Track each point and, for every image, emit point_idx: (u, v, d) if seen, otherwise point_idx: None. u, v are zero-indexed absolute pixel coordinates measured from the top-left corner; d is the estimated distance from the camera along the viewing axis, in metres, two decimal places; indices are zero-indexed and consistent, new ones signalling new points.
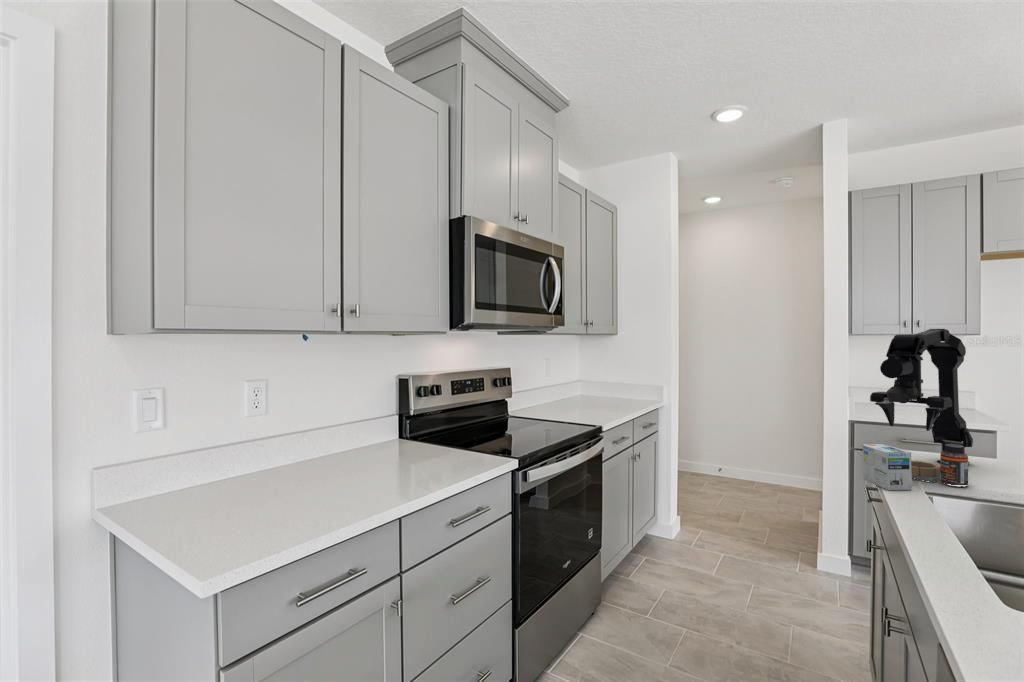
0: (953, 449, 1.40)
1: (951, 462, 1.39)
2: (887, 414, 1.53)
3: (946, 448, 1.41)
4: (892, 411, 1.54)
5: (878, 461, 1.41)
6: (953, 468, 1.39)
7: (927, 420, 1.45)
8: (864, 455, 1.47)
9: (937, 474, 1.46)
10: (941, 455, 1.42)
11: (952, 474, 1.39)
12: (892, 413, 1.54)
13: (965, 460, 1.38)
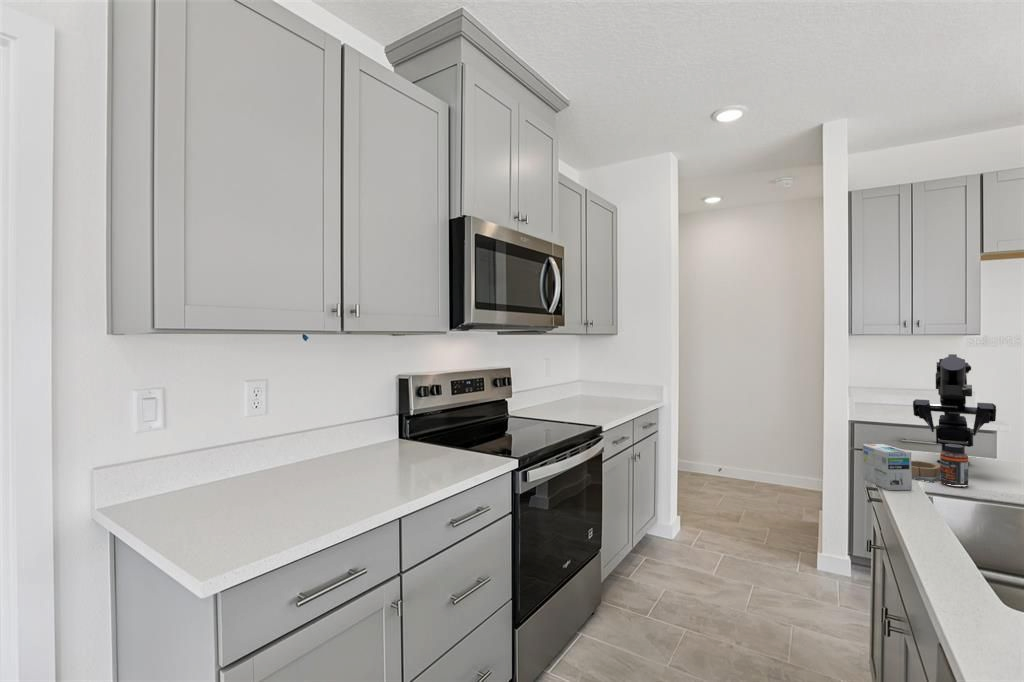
0: (953, 449, 1.40)
1: (951, 462, 1.39)
2: (930, 419, 1.52)
3: (946, 448, 1.41)
4: None
5: (878, 461, 1.41)
6: (953, 468, 1.39)
7: (974, 424, 1.45)
8: (864, 455, 1.47)
9: (937, 474, 1.46)
10: (941, 455, 1.42)
11: (952, 474, 1.39)
12: None
13: (965, 460, 1.38)
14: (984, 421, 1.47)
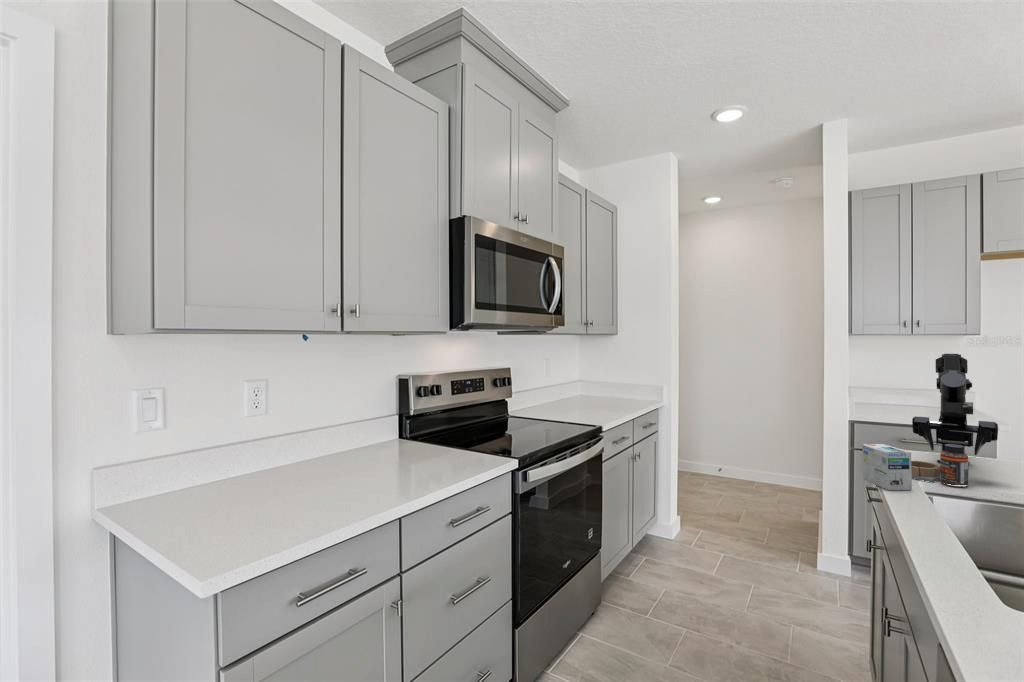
0: (953, 449, 1.40)
1: (951, 462, 1.39)
2: (929, 437, 1.47)
3: (946, 448, 1.41)
4: None
5: (878, 461, 1.41)
6: (953, 468, 1.39)
7: (976, 443, 1.40)
8: (864, 455, 1.47)
9: (937, 474, 1.46)
10: (941, 455, 1.42)
11: (952, 474, 1.39)
12: None
13: (965, 460, 1.38)
14: (986, 440, 1.42)
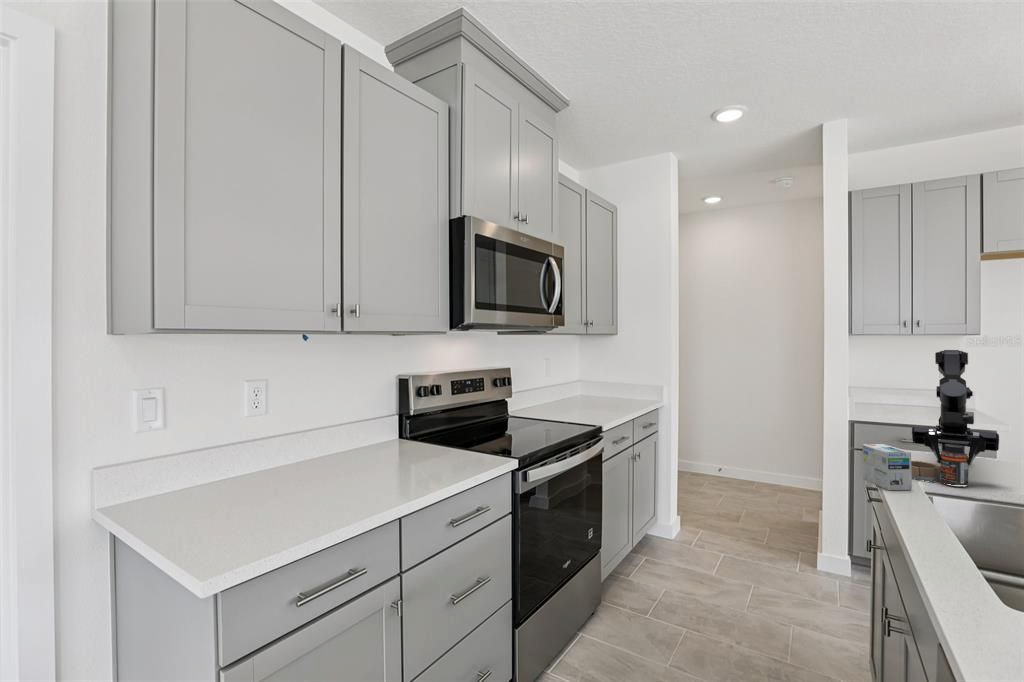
0: (953, 449, 1.40)
1: (951, 462, 1.39)
2: (936, 447, 1.44)
3: (946, 448, 1.41)
4: None
5: (878, 461, 1.41)
6: (953, 468, 1.39)
7: (969, 453, 1.39)
8: (864, 455, 1.47)
9: (937, 474, 1.46)
10: (941, 455, 1.42)
11: (952, 474, 1.39)
12: None
13: (965, 460, 1.38)
14: (979, 450, 1.41)
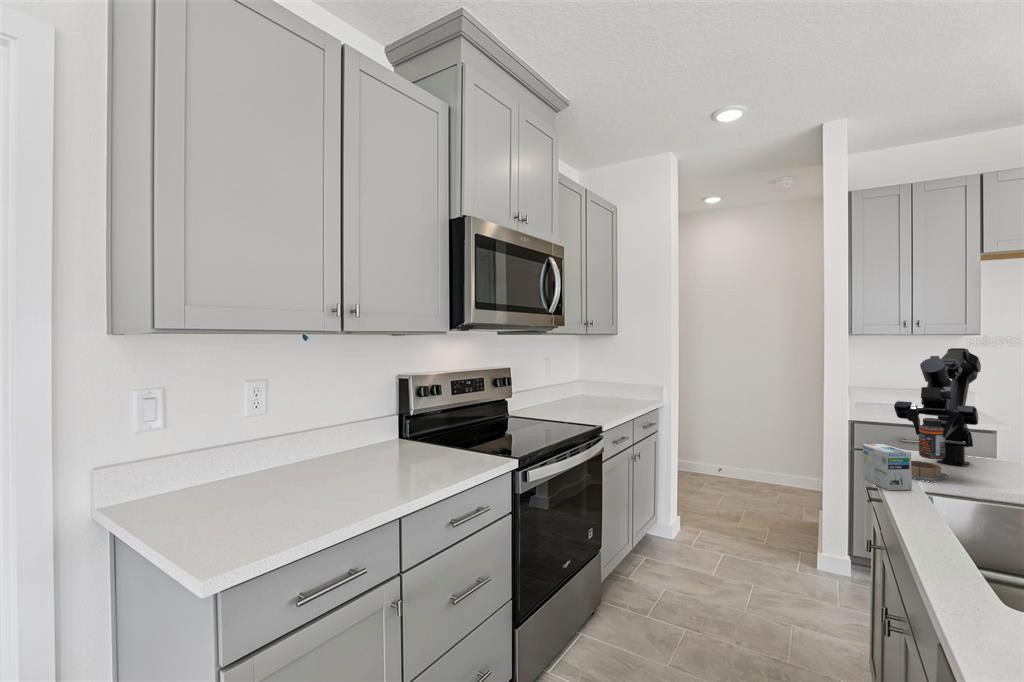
0: (929, 422, 1.45)
1: (927, 435, 1.45)
2: (915, 421, 1.49)
3: (923, 422, 1.47)
4: (919, 423, 1.50)
5: (878, 461, 1.41)
6: (928, 441, 1.45)
7: (946, 426, 1.44)
8: (864, 455, 1.47)
9: (937, 474, 1.46)
10: (919, 428, 1.48)
11: (927, 446, 1.45)
12: (919, 425, 1.50)
13: (940, 433, 1.43)
14: (959, 424, 1.45)
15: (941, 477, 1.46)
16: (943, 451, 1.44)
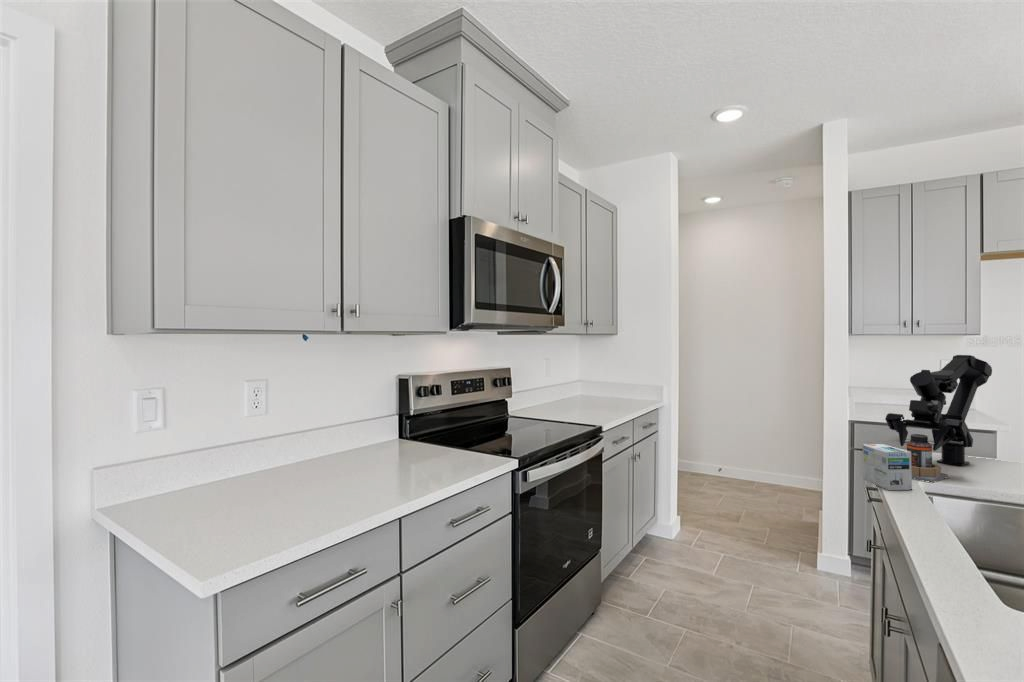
0: (916, 438, 1.49)
1: (913, 451, 1.49)
2: (901, 433, 1.54)
3: (911, 438, 1.51)
4: (905, 435, 1.55)
5: (878, 461, 1.41)
6: (914, 456, 1.49)
7: (936, 439, 1.47)
8: (864, 455, 1.47)
9: (937, 474, 1.46)
10: (907, 444, 1.52)
11: (913, 461, 1.49)
12: (904, 436, 1.54)
13: (926, 449, 1.47)
14: (951, 437, 1.47)
15: (941, 477, 1.46)
16: (929, 467, 1.47)
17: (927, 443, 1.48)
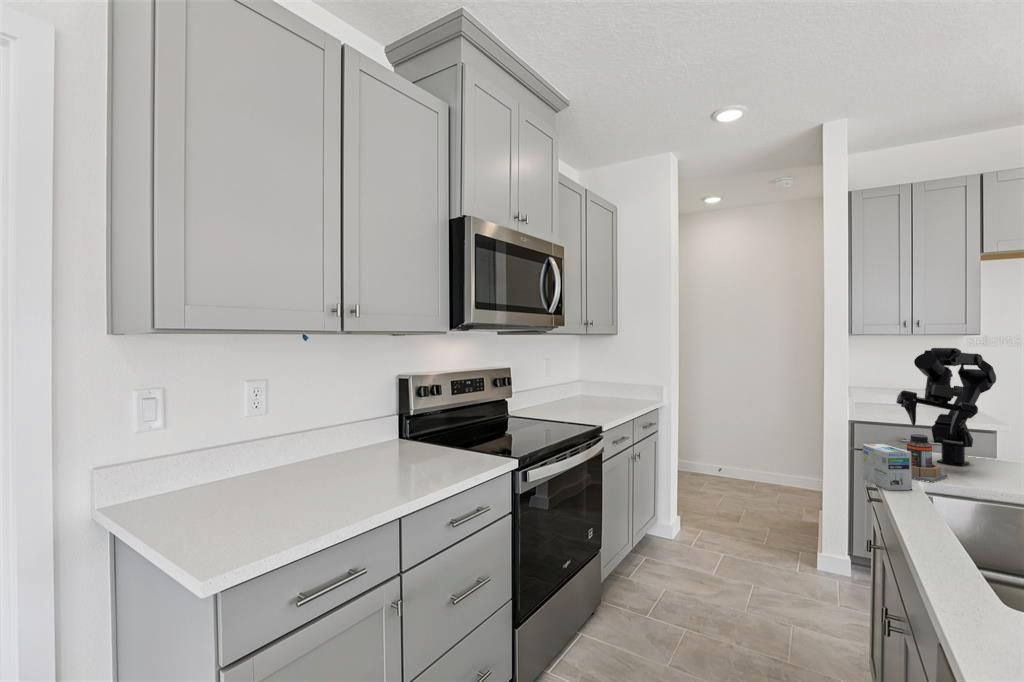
0: (916, 438, 1.49)
1: (913, 451, 1.49)
2: (913, 413, 1.56)
3: (911, 438, 1.51)
4: None
5: (878, 461, 1.41)
6: (914, 456, 1.49)
7: (954, 423, 1.51)
8: (864, 455, 1.47)
9: (937, 474, 1.46)
10: (907, 444, 1.52)
11: (913, 461, 1.49)
12: None
13: (926, 449, 1.47)
14: None
15: (941, 477, 1.46)
16: (929, 467, 1.47)
17: (927, 443, 1.48)
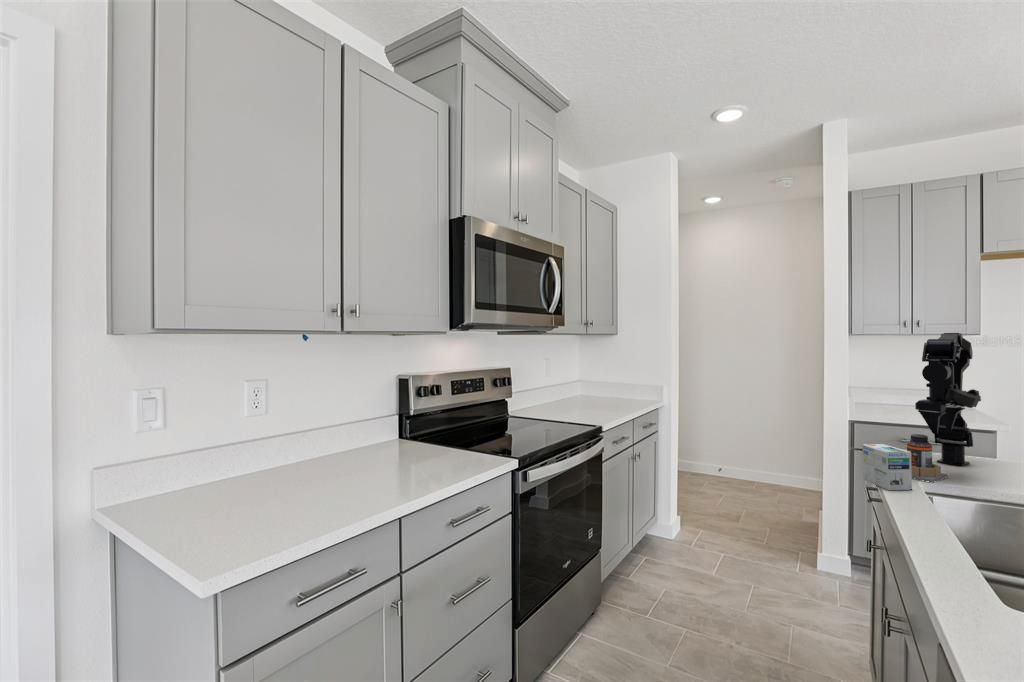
0: (916, 438, 1.49)
1: (913, 451, 1.49)
2: (938, 422, 1.47)
3: (911, 438, 1.51)
4: None
5: (878, 461, 1.41)
6: (914, 456, 1.49)
7: (952, 420, 1.52)
8: (864, 455, 1.47)
9: (937, 474, 1.46)
10: (907, 444, 1.52)
11: (914, 461, 1.49)
12: None
13: (926, 449, 1.47)
14: None
15: (941, 477, 1.46)
16: (929, 467, 1.47)
17: (927, 443, 1.48)
